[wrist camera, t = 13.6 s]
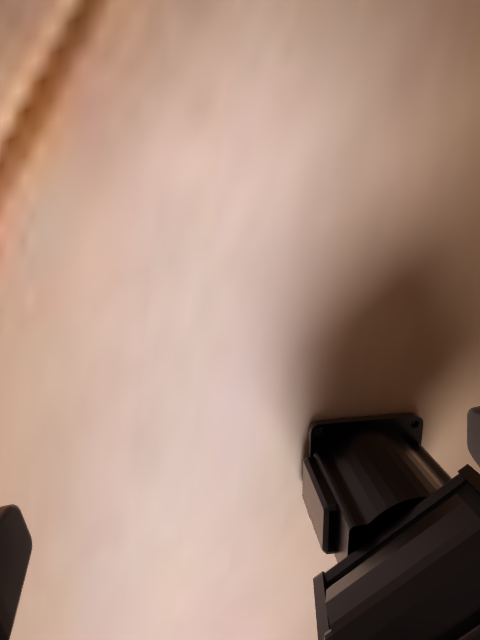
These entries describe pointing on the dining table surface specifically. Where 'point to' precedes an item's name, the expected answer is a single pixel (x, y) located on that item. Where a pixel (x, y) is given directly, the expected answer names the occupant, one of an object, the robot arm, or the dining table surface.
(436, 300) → the dining table surface
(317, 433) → the robot arm
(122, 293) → the dining table surface
